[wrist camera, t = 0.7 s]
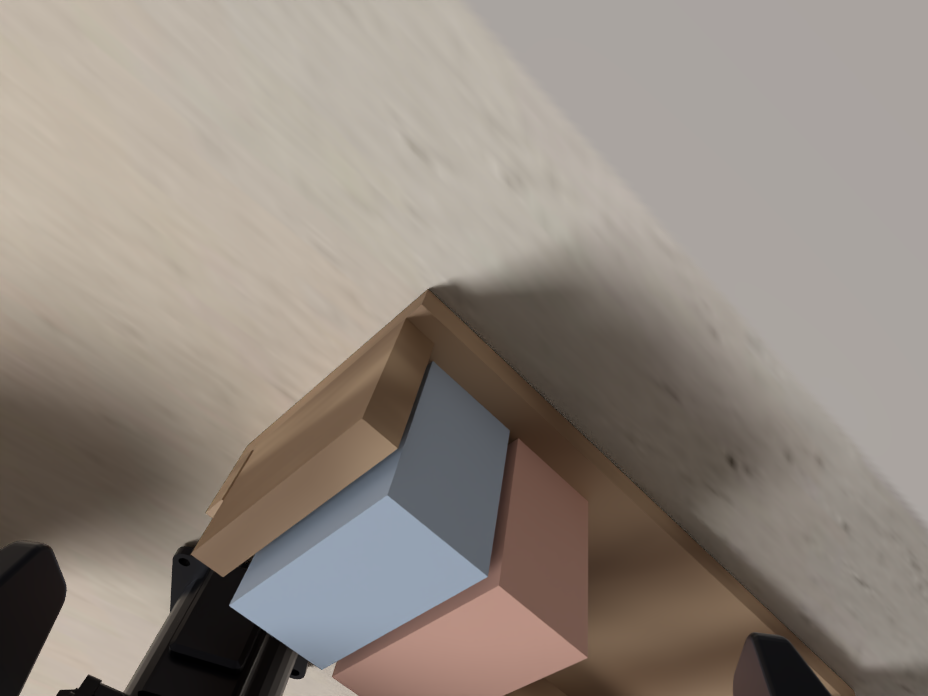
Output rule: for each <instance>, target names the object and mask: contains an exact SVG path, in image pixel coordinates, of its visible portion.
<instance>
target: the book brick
mask: <svg viewBox="0 0 928 696" xmlns="http://www.w3.org/2000/svg"><path fill="white" fill-rule="evenodd" d="M586 658H588V501H587V500H586V499H585V498H584V497H583V496H581V495H580V494H579V493H578V492H577V491H576V490H575V489H574V488H573V487H572V486H570V485H569V484H568V483H567V482H566V481H565V480H564V479H563V478H562V477H561V476H559V475H558V474H557V473H556V472H555V471H554V470H553V469H552V468H551V467H549V466H548V465H547V464H546V463H545V462H544V461H543V460H542V459H541V458H540V457H538V456H537V455H536V454H535V453H534V452H533V451H532V450H531V449H530V448H529V447H527V446H526V445H525V444H524V443H523V442H522V441H521V440H520V439H519V438H518V439H516V440H515V441H513V442H512V443H510V444H509V445H508V446H507V453H506V460H505V466H504V473H503V479H502V486H501V493H500V499H499V506H498V513H497V519H496V526H495V533H494V539H493V546H492V553H491V559H490V566H489V573H488V577H487V578H485V579H483V580H481V581H480V582H478V583H476V584H474V585H472V586H471V587H469V588H467V589H465V590H463V591H462V592H460V593H458V594H456V595H455V596H453V597H451V598H449V599H447V600H446V601H444V602H442V603H440V604H438V605H437V606H435V607H433V608H431V609H430V610H428V611H426V612H424V613H422V614H421V615H419V616H417V617H415V618H413V619H412V620H410V621H408V622H406V623H405V624H403V625H401V626H399V627H397V628H396V629H394V630H392V631H390V632H388V633H387V634H385V635H383V636H381V637H380V638H378V639H376V640H374V641H372V642H371V643H369V644H367V645H365V646H363V647H362V648H360V649H358V650H356V651H355V652H353V653H351V654H349V655H347V656H346V657H344V658H342V659H340V660H338V661H337V663H336V666H335V669H334V672H333V675H332V677H333V678H334V679H336V680H337V681H338V682H340V683H341V684H343V685H344V686H346V687H347V688H349V689H350V690H351V691H353V692H354V693H356V694H357V695H359V696H504V695H506V694H508V693H510V692H513V691H515V690H517V689H519V688H522V687H524V686H526V685H528V684H530V683H533V682H535V681H537V680H539V679H542V678H544V677H546V676H548V675H551V674H553V673H555V672H557V671H560V670H562V669H564V668H566V667H569V666H571V665H573V664H575V663H578V662H580V661H582V660H584V659H586Z"/></svg>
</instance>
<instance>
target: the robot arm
mask: <svg viewBox="0 0 928 696" xmlns="http://www.w3.org/2000/svg"><path fill="white" fill-rule="evenodd" d="M193 550H194V548H191V547H185V546H184V547H180V548H179V549H178V550H177V552H176V553H175V555H174V557H173V565H172V585H171V604H170V614H169V616H168V617H167V619H166V621H165V622H164V624H163V626H162V628H161V629H160V631H159V633H158V634H157V636H156V638H155V640H154V641H153V643H152V645H151V646H150V648H149V650H148V651H147V653H146V655H145V657H144V658H143V660H142V662H141V663H140V665H139V667H138V668H137V670H136V672H135V674H134V675H133V677H132V679H131V680H130V682H129V684H128V686H127V687H126V689H125V691H124V692H121V691H118V690H116V689H114V688H111V687H109V686H107V685H105V684H102V683H101V682H102V680H100V679H98V678H96V677H93V676H91V675H88V676H87V677H86V679H85V680H84V681H83V683H82V684H81V686H80V687H79V689H78V688H76V689H74V690H60V691H59V692H58V694H57V695H56V696H282V695H283V692H284V690H285V687H286V684H287V682H288V679H289V677H290V678H293V679H301V678H303V677H304V676H305V673H306V671H307V668H308V664H309V661H308V660H307V659H305V658H304V657H302V656H301V655H299V654H298V653H296V652H295V651H294V650H292V649H291V648H289V647H288V646H286V645H285V644H283V643H282V642H281V641H279V640H278V639H276V638H275V637H273V636H272V635H270V634H269V633H268V632H266V631H265V630H263V629H262V628H260V627H259V626H257V625H256V624H255V623H253V622H252V621H250V620H249V619H247V618H246V617H244V616H243V615H242V614H240V613H239V612H237V611H236V610H234V609H233V608H231V607H230V606H229V605H230V603H231V601H232V599H233V597H234V595H235V593H236V591H237V589H238V587H239V585H240V583H241V581H242V579H243V577H244V575H245V573H246V571H247V569H248V567H249V565H247V564H244V563H242V564H241V565H239V566H238V567H236V568H235V569H234V570H232V571H231V572H230V573H228V574H227V575H226V576H224V577H222V576H221V575H219V574H218V573H216V572H215V571H214V570H212V569H211V568H209V567H208V566H206V565H205V564H204V563H202V562H201V561H199V560H198V559H196V558H195V557H194V556H192V555H191V553H192V551H193ZM65 597H66V583H65V580H64V577H63V575H62V572H61V570H60V567H59V565H58V562H57V560H56V557H55V555H54V552H53V550H52V548H51V547H50V546H48V545H47V544H44V543H37V542H29V541H17V542H14V543H11V544H9V545H7V546H6V547H4V548H2V549H0V696H19V695H20V693H21V691H22V689H23V687H24V684H25V682H26V680H27V678H28V676H29V674H30V672H31V670H32V668H33V666H34V664H35V662H36V660H37V658H38V656H39V653H40V651H41V649H42V647H43V645H44V643H45V641H46V639H47V637H48V635H49V633H50V631H51V629H52V627H53V625H54V622H55V620H56V618H57V616H58V614H59V612H60V610H61V608H62V606H63V603H64V601H65ZM733 696H832V695H831V694H830V692H829V691H828V690H827V689H826V687H825V686H824V685H823V683H822V682H821V681H820V680H819V678H818V677H817V676H816V674H815V673H814V672H813V670H812V669H811V668H810V667H809V665H808V664H807V663H806V661H805V660H804V659H803V658H802V656H801V655H800V654H799V652H798V651H797V650H796V648H795V647H794V646H793V645H792V643H791V642H790V641H789V640H788V639H786V638H785V637H783V636H780V635H774V634H766V633H758V632H753V633H750V634H749V635H748V636H747V638H746V640H745V643H744V646H743V649H742V652H741V655H740V658H739V661H738V664H737V667H736V670H735V673H734V678H733Z"/></svg>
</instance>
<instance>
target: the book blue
mask: <svg viewBox="0 0 928 696" xmlns="http://www.w3.org/2000/svg"><path fill="white" fill-rule="evenodd" d="M509 433H510V430H509V429H508V428H506V427H505V426H504V425H503V424H502V423H501V422H500V421H499V420H498V419H496V418H495V417H494V416H493V415H492V414H491V413H490V412H489V411H488V410H487V409H485V408H484V407H483V406H482V405H481V404H480V403H479V402H478V401H477V400H476V399H474V398H473V397H472V396H471V395H470V394H469V393H468V392H467V391H466V390H464V389H463V388H462V387H461V386H460V385H459V384H458V383H457V382H456V381H455V380H453V379H452V378H451V377H450V376H449V375H448V374H447V373H446V372H445V371H444V370H442V369H441V368H440V367H439V366H438V365H437V364H436V363H435V362H434V361H432V362H431V363H430V364H428V365H427V367H426V370H425V372H424V375H423V378H422V381H421V384H420V387H419V390H418V393H417V395H416V398H415V401H414V404H413V407H412V410H411V413H410V415H409V418H408V421H407V424H406V427H405V430H404V433H403V436H402V438H401V441H400V444H399V447H398V449H397V450H395V451H394V452H393V453H391V454H390V455H389V456H387V457H386V458H384V459H383V460H382V461H380V462H379V463H378V464H376V465H375V466H374V467H372V468H371V469H370V470H368V471H367V472H365V473H364V474H363V475H361V476H360V477H359V478H357V479H356V480H355V481H353V482H352V483H351V484H349V485H348V486H346V487H345V488H344V489H342V490H341V491H340V492H338V493H337V494H336V495H334V496H333V497H332V498H330V499H329V500H327V501H326V502H325V503H323V504H322V505H321V506H319V507H318V508H317V509H315V510H314V511H312V512H311V513H310V514H308V515H307V516H306V517H304V518H303V519H302V520H300V521H299V522H298V523H296V524H295V525H293V526H292V527H291V528H289V529H288V530H287V531H285V532H284V533H283V534H281V535H280V536H279V537H277V538H276V539H274V540H273V541H272V542H270V543H269V544H268V545H266V546H265V547H264V548H262V549H261V550H260V551H258V552H257V553H256V554H255V555H254V557H253V559H252V561H251V563H250V565H249V567H248V569H247V571H246V573H245V575H244V577H243V579H242V581H241V583H240V585H239V587H238V589H237V591H236V593H235V595H234V597H233V599H232V601H231V603H230V605H229V606H230V607H231V608H233V609H234V610H236V611H237V612H239V613H240V614H242V615H243V616H244V617H246V618H247V619H249V620H250V621H252V622H253V623H255V624H256V625H257V626H259V627H260V628H262V629H263V630H265V631H266V632H268V633H269V634H270V635H272V636H273V637H275V638H276V639H278V640H279V641H281V642H282V643H283V644H285V645H286V646H288V647H289V648H291V649H292V650H294V651H295V652H296V653H298V654H299V655H301V656H302V657H304V658H305V659H307V660H308V661H309V662H311V663H312V664H314V665H315V666H317V667H318V668H320V669H321V670H322V669H324V668H326V667H328V666H330V665H331V664H333V663H335V662H337V661H338V660H340V659H342V658H344V657H346V656H347V655H349V654H351V653H353V652H355V651H356V650H358V649H360V648H362V647H363V646H365V645H367V644H369V643H371V642H372V641H374V640H376V639H378V638H380V637H381V636H383V635H385V634H387V633H388V632H390V631H392V630H394V629H396V628H397V627H399V626H401V625H403V624H405V623H406V622H408V621H410V620H412V619H413V618H415V617H417V616H419V615H421V614H422V613H424V612H426V611H428V610H430V609H431V608H433V607H435V606H437V605H438V604H440V603H442V602H444V601H446V600H447V599H449V598H451V597H453V596H455V595H456V594H458V593H460V592H462V591H463V590H465V589H467V588H469V587H471V586H472V585H474V584H476V583H478V582H480V581H481V580H483V579H485V578H487V577H488V573H489V566H490V559H491V553H492V546H493V539H494V533H495V526H496V519H497V513H498V506H499V499H500V493H501V486H502V479H503V473H504V466H505V460H506V453H507V446H508V440H509Z"/></svg>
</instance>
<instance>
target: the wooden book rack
mask: <svg viewBox="0 0 928 696" xmlns="http://www.w3.org/2000/svg"><path fill="white" fill-rule="evenodd" d="M432 361H434V362H435V363H436V364H437V365H438V366H439V367H440V368H441V369H442V370H444V371H445V372H446V373H447V374H448V375H449V376H450V377H451V378H452V379H453V380H455V381H456V382H457V383H458V384H459V385H460V386H461V387H462V388H463V389H464V390H466V391H467V392H468V393H469V394H470V395H471V396H472V397H473V398H474V399H476V400H477V401H478V402H479V403H480V404H481V405H482V406H483V407H484V408H485V409H487V410H488V411H489V412H490V413H491V414H492V415H493V416H494V417H495V418H496V419H498V420H499V421H500V422H501V423H502V424H503V425H504V426H505V427H506V428H508V429H509V430H510V433H509V440H508V445H509V444H510V443H512V442H513V441H515V440H516V439H518V438H519V439H520V440H521V441H522V442H523V443H524V444H525V445H526V446H527V447H529V448H530V449H531V450H532V451H533V452H534V453H535V454H536V455H537V456H538V457H540V458H541V459H542V460H543V461H544V462H545V463H546V464H547V465H548V466H549V467H551V468H552V469H553V470H554V471H555V472H556V473H557V474H558V475H559V476H561V477H562V478H563V479H564V480H565V481H566V482H567V483H568V484H569V485H570V486H572V487H573V488H574V489H575V490H576V491H577V492H578V493H579V494H580V495H581V496H583V497H584V498H585V499H586V500H587V501H588V658H586V659H584V660H582V661H580V662H578V663H575V664H573V665H571V666H569V667H566V668H564V669H562V670H560V671H557V672H555V673H553V674H551V675H548V676H546V677H544V678H542V679H539V680H537V681H535V682H533V683H530V684H528V685H526V686H524V687H522V688H519V689H517V690H515V691H513V692H510V693H508V694H506V695H504V696H733V678H734V673H735V670H736V667H737V664H738V661H739V658H740V655H741V652H742V649H743V646H744V643H745V640H746V638H747V636H748V635H749V634H750V633H753V632H758V633H766V634H774V635H780V636H783V637H785V638H786V639H788V640H789V641H790V642H791V643H792V645H793V646H794V647H795V648H796V650H797V651H798V652H799V654H800V655H801V656H802V658H803V659H804V660H805V661H806V663H807V664H808V665H809V667H810V668H811V669H812V670H813V672H814V673H815V674H816V676H817V677H818V678H819V680H820V681H821V682H822V683H823V685H824V686H825V687H826V689H827V690H828V691H829V692H830V694H831V695H832V696H855V693H854V691H853V690H852V689H851V688H850V687H849V686H848V685H847V684H846V683H845V682H844V681H843V680H842V679H841V678H840V677H839V676H838V675H837V674H835V673H834V672H833V671H832V670H831V669H830V668H829V667H828V666H827V665H826V664H825V663H824V662H823V661H822V660H821V659H820V658H819V657H817V656H816V655H815V654H814V653H813V652H812V651H811V650H810V649H809V648H808V647H807V646H806V645H805V644H804V643H803V642H802V641H800V640H799V639H798V638H797V637H796V636H795V635H794V634H793V633H792V632H791V631H790V630H789V629H788V628H787V627H786V626H785V625H784V624H782V623H781V622H780V621H779V620H778V619H777V618H776V617H775V616H774V615H773V614H772V613H771V612H770V611H769V610H768V609H767V608H766V607H764V606H763V605H762V604H761V603H760V602H759V601H758V600H757V599H756V598H755V597H754V596H753V595H752V594H751V593H750V592H749V591H748V590H746V589H745V588H744V587H743V586H742V585H741V584H740V583H739V582H738V581H737V580H736V579H735V578H734V577H733V576H732V575H731V574H730V573H728V572H727V571H726V570H725V569H724V568H723V567H722V566H721V565H720V564H719V563H718V562H717V561H716V560H715V559H714V558H713V557H711V556H710V555H709V554H708V553H707V552H706V551H705V550H704V549H703V548H702V547H701V546H700V545H699V544H698V543H697V542H696V541H695V540H693V539H692V538H691V537H690V536H689V535H688V534H687V533H686V532H685V531H684V530H683V529H682V528H681V527H680V526H679V525H678V524H677V523H675V522H674V521H673V520H672V519H671V518H670V517H669V516H668V515H667V514H666V513H665V512H664V511H663V510H662V509H661V508H660V507H659V506H657V505H656V504H655V503H654V502H653V501H652V500H651V499H650V498H649V497H648V496H647V495H646V494H645V493H644V492H643V491H642V490H641V489H639V488H638V487H637V486H636V485H635V484H634V483H633V482H632V481H631V480H630V479H629V478H628V477H627V476H626V475H625V474H624V473H622V472H621V471H620V470H619V469H618V468H617V467H616V466H615V465H614V464H613V463H612V462H611V461H610V460H609V459H608V458H607V457H606V456H604V455H603V454H602V453H601V452H600V451H599V450H598V449H597V448H596V447H595V446H594V445H593V444H592V443H591V442H590V441H589V440H588V439H586V438H585V437H584V436H583V435H582V434H581V433H580V432H579V431H578V430H577V429H576V428H575V427H574V426H573V425H572V424H571V423H570V422H568V421H567V420H566V419H565V418H564V417H563V416H562V415H561V414H560V413H559V412H558V411H557V410H556V409H555V408H554V407H553V406H552V405H550V404H549V403H548V402H547V401H546V400H545V399H544V398H543V397H542V396H541V395H540V394H539V393H538V392H537V391H536V390H535V389H533V388H532V387H531V386H530V385H529V384H528V383H527V382H526V381H525V380H524V379H523V378H522V377H521V376H520V375H519V374H518V373H517V372H515V371H514V370H513V369H512V368H511V367H510V366H509V365H508V364H507V363H506V362H505V361H504V360H503V359H502V358H501V357H500V356H499V355H497V354H496V353H495V352H494V351H493V350H492V349H491V348H490V347H489V346H488V345H487V344H486V343H485V342H484V341H483V340H482V339H481V338H479V337H478V336H477V335H476V334H475V333H474V332H473V331H472V330H471V329H470V328H469V327H468V326H467V325H466V324H465V323H464V322H463V321H461V320H460V319H459V318H458V317H457V316H456V315H455V314H454V313H453V312H452V311H451V310H450V309H449V308H448V307H447V306H446V305H445V304H443V303H442V302H441V301H440V300H439V299H438V298H437V297H436V296H435V295H434V294H433V293H432V292H431V291H430V290H429V289H427V290H426V291H425V292H424V293H423V294H422V295H420V296H419V297H418V298H417V299H416V300H415V301H414V302H412V303H411V304H410V305H409V306H408V307H407V308H405V309H404V310H403V311H402V312H401V313H400V314H399V315H397V316H396V317H395V318H394V319H393V320H392V321H391V322H389V323H388V324H387V325H386V326H385V327H384V328H382V329H381V330H380V331H379V332H378V333H377V334H376V335H374V336H373V337H372V338H371V339H370V340H369V341H367V342H366V343H365V344H364V345H363V346H362V347H361V348H359V349H358V350H357V351H356V352H355V353H354V354H352V355H351V356H350V357H349V358H348V359H347V360H346V361H344V362H343V363H342V364H341V365H340V366H339V367H338V368H336V369H335V370H334V371H333V372H332V373H331V374H329V375H328V376H327V377H326V378H325V379H324V380H323V381H321V382H320V383H319V384H318V385H317V386H316V387H314V388H313V389H312V390H311V391H310V392H309V393H308V394H306V395H305V396H304V397H303V398H302V399H301V400H299V401H298V402H297V403H296V404H295V405H294V406H293V407H291V408H290V409H289V410H288V411H287V412H286V413H285V414H283V415H282V416H281V417H280V418H279V419H278V420H276V421H275V422H274V423H273V424H272V425H271V426H270V427H268V428H267V429H266V430H265V431H264V432H263V433H261V434H260V435H259V436H258V437H257V438H256V439H255V440H253V441H252V442H251V443H250V444H249V445H248V446H247V447H246V449H245V450H244V452H243V454H242V455H241V457H240V458H239V460H238V462H237V463H236V465H235V466H234V468H233V470H232V471H231V473H230V474H229V476H228V478H227V479H226V481H225V482H224V484H223V486H222V487H221V489H220V490H219V492H218V494H217V495H216V497H215V498H214V500H213V502H212V503H211V505H210V506H209V508H208V510H207V511H206V514H207V515H209V516H210V517H212V518H213V519H212V520H211V522H210V523H209V525H208V527H207V528H206V530H205V532H204V533H203V535H202V537H201V538H200V540H199V542H198V543H197V545H196V546H195V548H194V550H193V551H192V553H191V555H192V556H194V557H195V558H196V559H198V560H199V561H201V562H202V563H204V564H205V565H206V566H208V567H209V568H211V569H212V570H214V571H215V572H216V573H218V574H219V575H221V576H222V577H224V576H226V575H227V574H228V573H230V572H231V571H232V570H234V569H235V568H236V567H238V566H239V565H241V564H242V563H243V562H245V561H246V560H247V559H249V558H250V557H251V556H253V555H254V554H255V553H257V552H258V551H260V550H261V549H262V548H264V547H265V546H266V545H268V544H269V543H270V542H272V541H273V540H274V539H276V538H277V537H279V536H280V535H281V534H283V533H284V532H285V531H287V530H288V529H289V528H291V527H292V526H293V525H295V524H296V523H298V522H299V521H300V520H302V519H303V518H304V517H306V516H307V515H308V514H310V513H311V512H312V511H314V510H315V509H317V508H318V507H319V506H321V505H322V504H323V503H325V502H326V501H327V500H329V499H330V498H332V497H333V496H334V495H336V494H337V493H338V492H340V491H341V490H342V489H344V488H345V487H346V486H348V485H349V484H351V483H352V482H353V481H355V480H356V479H357V478H359V477H360V476H361V475H363V474H364V473H365V472H367V471H368V470H370V469H371V468H372V467H374V466H375V465H376V464H378V463H379V462H380V461H382V460H383V459H384V458H386V457H387V456H389V455H390V454H391V453H393V452H394V451H395V450H397V449H398V447H399V444H400V441H401V438H402V436H403V433H404V430H405V427H406V424H407V421H408V418H409V415H410V413H411V410H412V407H413V404H414V401H415V398H416V395H417V393H418V390H419V387H420V384H421V381H422V378H423V375H424V372H425V370H426V367H427V365H428V364H430V363H431V362H432Z"/></svg>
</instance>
